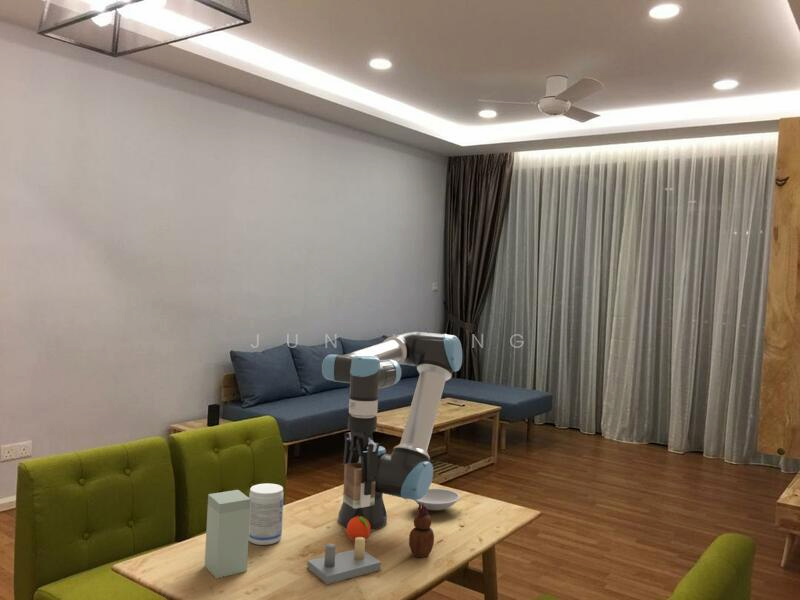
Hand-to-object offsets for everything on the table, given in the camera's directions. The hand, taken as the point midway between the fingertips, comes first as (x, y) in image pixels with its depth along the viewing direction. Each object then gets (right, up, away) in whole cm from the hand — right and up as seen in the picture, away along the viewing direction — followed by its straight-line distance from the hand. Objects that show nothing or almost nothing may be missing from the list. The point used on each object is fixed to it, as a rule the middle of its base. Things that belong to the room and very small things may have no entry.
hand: (358, 502), depth 166 cm
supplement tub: (-28, -15, +13) cm, 34 cm away
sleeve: (0, 0, 0) cm, 0 cm away
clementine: (-1, -17, +16) cm, 23 cm away
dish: (+23, -17, +45) cm, 53 cm away
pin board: (-3, -17, -2) cm, 17 cm away
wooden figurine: (+17, -18, +9) cm, 26 cm away
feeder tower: (-33, -15, -6) cm, 37 cm away
